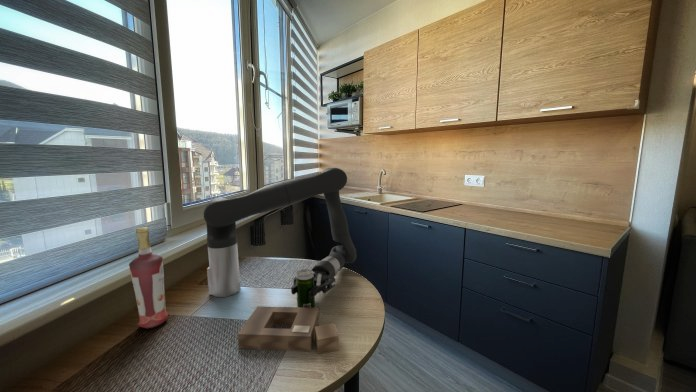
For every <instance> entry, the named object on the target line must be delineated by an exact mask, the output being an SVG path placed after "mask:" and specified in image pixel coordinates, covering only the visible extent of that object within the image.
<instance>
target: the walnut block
mask: <svg viewBox="0 0 696 392" xmlns="http://www.w3.org/2000/svg"><path fill="white" fill-rule="evenodd" d="M314 342H315V347H316V350H317V351H316V352H317V354H318V355H323V354H326V353H327V354H328V353H332V352H337V351H339V334H338V331H337V329H336V325H335V323H328V324H322V325H318V326H316V327H315V338H314Z"/></svg>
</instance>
